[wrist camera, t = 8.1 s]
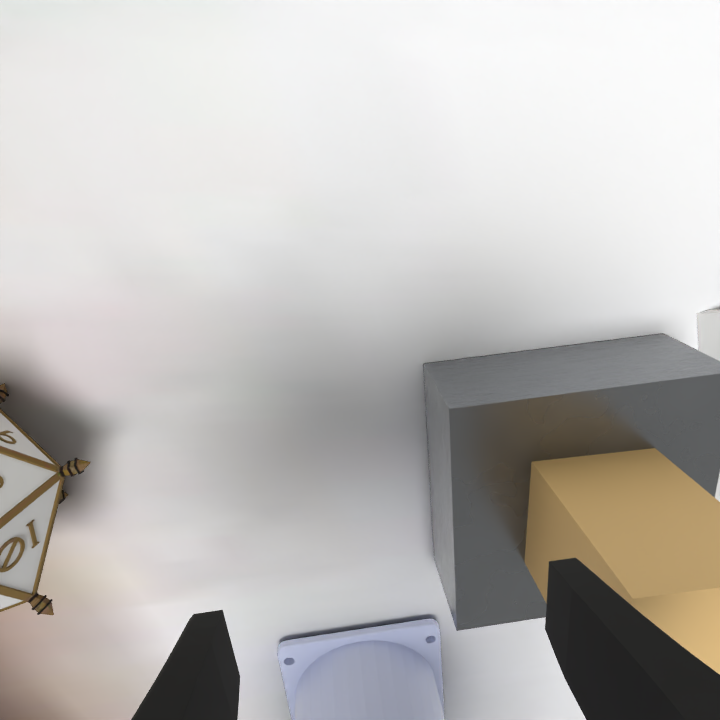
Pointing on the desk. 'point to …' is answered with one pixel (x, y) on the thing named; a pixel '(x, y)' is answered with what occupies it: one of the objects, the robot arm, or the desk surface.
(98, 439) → the desk surface
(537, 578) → the ochre block
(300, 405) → the desk surface
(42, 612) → the game die
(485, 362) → the charcoal stand
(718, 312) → the grey v-shaped trough
